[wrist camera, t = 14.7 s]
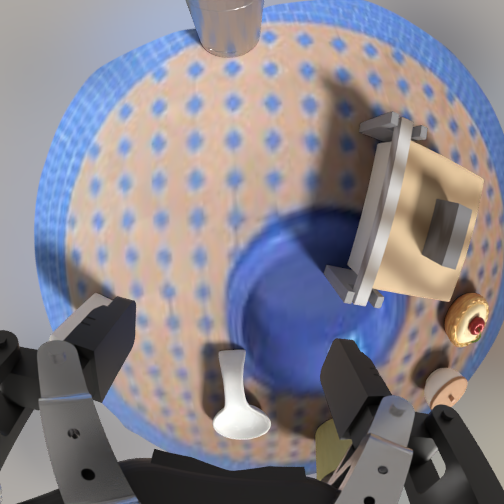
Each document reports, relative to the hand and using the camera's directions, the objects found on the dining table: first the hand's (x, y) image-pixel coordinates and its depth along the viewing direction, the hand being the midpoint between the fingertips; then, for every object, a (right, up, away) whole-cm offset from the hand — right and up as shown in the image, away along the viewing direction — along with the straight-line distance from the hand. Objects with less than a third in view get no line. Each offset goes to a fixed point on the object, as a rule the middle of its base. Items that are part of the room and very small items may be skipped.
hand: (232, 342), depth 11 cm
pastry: (+46, -10, +38) cm, 60 cm away
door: (+26, +7, +24) cm, 36 cm away
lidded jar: (+45, -27, +42) cm, 68 cm away
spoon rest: (-2, -25, +41) cm, 48 cm away
